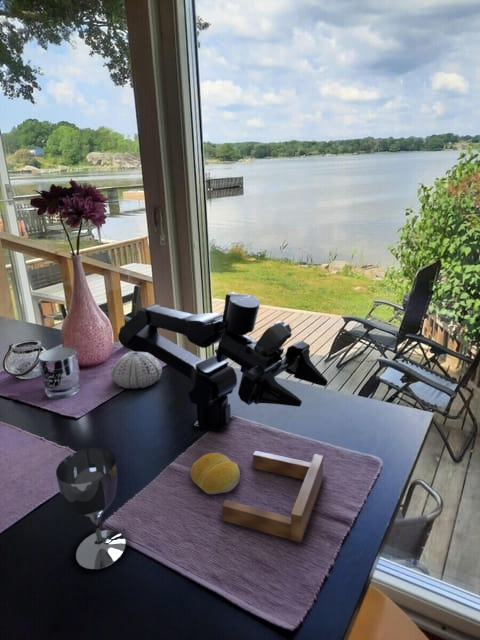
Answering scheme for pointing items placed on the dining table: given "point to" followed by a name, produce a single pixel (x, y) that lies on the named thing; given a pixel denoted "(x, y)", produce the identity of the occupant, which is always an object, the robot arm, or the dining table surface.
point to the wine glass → (92, 502)
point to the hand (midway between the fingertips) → (314, 393)
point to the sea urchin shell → (136, 370)
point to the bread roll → (215, 473)
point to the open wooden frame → (303, 506)
